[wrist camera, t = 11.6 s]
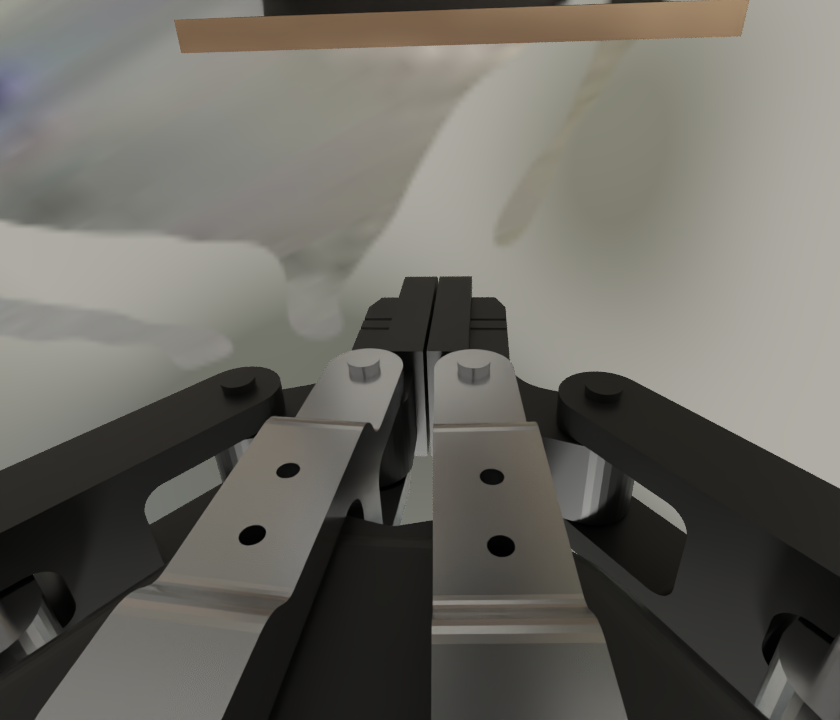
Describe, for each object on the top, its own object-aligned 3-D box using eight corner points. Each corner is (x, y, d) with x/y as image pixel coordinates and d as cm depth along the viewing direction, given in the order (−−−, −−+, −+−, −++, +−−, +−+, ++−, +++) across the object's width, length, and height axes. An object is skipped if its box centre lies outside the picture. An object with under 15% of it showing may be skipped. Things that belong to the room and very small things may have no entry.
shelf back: (264, 16, 41) (174, 19, 29) (667, 1, 38) (749, -1, 26) (267, 40, 42) (181, 53, 30) (663, 27, 39) (740, 36, 27)
